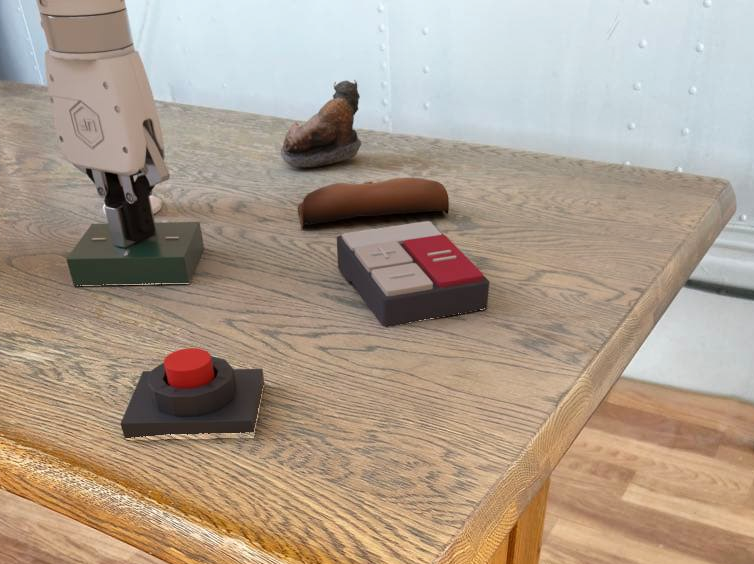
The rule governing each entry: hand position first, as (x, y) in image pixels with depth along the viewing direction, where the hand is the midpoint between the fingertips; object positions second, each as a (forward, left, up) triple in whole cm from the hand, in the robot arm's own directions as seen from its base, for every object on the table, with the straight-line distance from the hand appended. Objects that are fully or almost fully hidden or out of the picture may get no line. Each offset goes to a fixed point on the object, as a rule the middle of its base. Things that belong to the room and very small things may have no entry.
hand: (134, 234), depth 85 cm
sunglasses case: (+25, +15, -4) cm, 29 cm away
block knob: (0, 0, 0) cm, 0 cm away
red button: (+11, -30, 0) cm, 32 cm away
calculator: (+29, -7, -4) cm, 30 cm away
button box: (+11, -30, -4) cm, 32 cm away
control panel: (0, 0, -4) cm, 4 cm away
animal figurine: (+18, +36, -4) cm, 40 cm away
